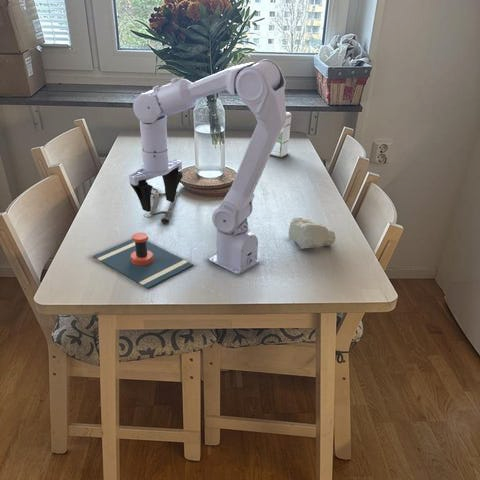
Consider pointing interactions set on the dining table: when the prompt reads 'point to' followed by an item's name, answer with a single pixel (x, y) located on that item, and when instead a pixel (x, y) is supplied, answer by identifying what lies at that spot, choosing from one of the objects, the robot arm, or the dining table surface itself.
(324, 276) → the dining table surface
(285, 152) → the syrup box
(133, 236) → the orange thread spool
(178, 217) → the dining table surface
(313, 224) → the decorative stone
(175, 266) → the tea towel
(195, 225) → the dining table surface
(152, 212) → the hacksaw
